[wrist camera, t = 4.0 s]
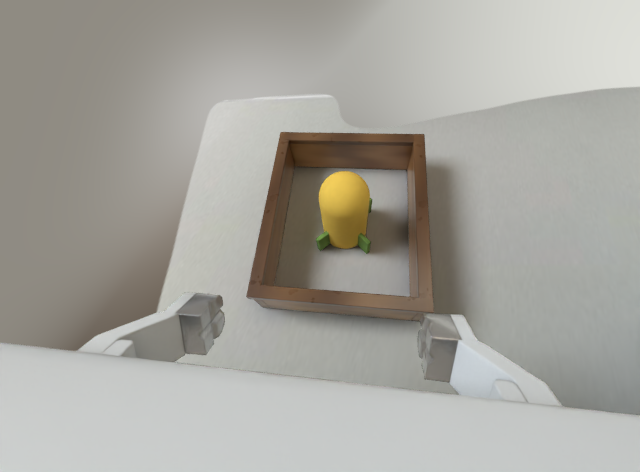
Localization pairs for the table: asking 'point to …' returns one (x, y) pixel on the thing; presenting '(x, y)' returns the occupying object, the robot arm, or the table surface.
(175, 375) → the robot arm
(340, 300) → the wooden box
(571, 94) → the table surface
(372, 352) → the table surface
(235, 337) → the table surface
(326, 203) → the corn plush toy
